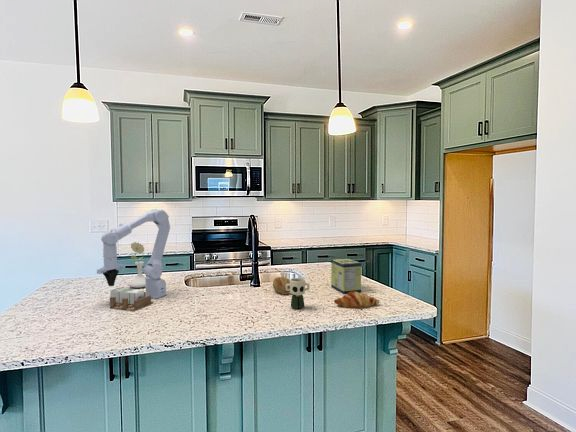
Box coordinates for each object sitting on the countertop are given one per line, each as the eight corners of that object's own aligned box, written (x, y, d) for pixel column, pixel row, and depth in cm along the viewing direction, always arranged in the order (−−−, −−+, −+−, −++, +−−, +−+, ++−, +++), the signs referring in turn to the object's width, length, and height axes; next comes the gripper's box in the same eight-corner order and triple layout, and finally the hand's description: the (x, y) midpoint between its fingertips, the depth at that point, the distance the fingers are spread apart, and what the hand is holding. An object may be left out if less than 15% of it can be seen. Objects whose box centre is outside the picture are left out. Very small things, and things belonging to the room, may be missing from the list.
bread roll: (277, 296, 188) (277, 281, 188) (269, 289, 203) (269, 274, 202) (295, 295, 192) (295, 279, 191) (286, 288, 206) (286, 273, 205)
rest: (153, 302, 179) (153, 292, 178) (133, 311, 167) (133, 300, 166) (130, 300, 183) (130, 290, 183) (110, 308, 171) (109, 297, 171)
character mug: (286, 310, 166) (286, 281, 165) (284, 305, 173) (284, 278, 172) (310, 309, 167) (310, 281, 167) (308, 304, 174) (308, 277, 174)
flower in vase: (155, 285, 212) (154, 241, 210) (137, 290, 202) (136, 244, 200) (140, 282, 219) (139, 240, 217) (123, 287, 209) (121, 242, 207)
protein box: (347, 285, 210) (347, 258, 209) (361, 292, 195) (361, 263, 194) (330, 287, 207) (330, 259, 206) (343, 294, 192) (343, 264, 191)
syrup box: (110, 302, 176) (136, 305, 173) (110, 290, 176) (136, 292, 172) (118, 298, 182) (144, 301, 178) (118, 287, 181) (144, 289, 178)
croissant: (376, 310, 177) (374, 293, 180) (383, 306, 168) (381, 288, 171) (332, 311, 175) (331, 294, 178) (337, 307, 166) (335, 289, 169)
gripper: (115, 254, 185) (116, 281, 186) (91, 259, 172) (92, 288, 173) (126, 255, 183) (127, 282, 184) (103, 260, 169) (104, 290, 170)
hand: (111, 285), depth 178 cm, fingers closed
